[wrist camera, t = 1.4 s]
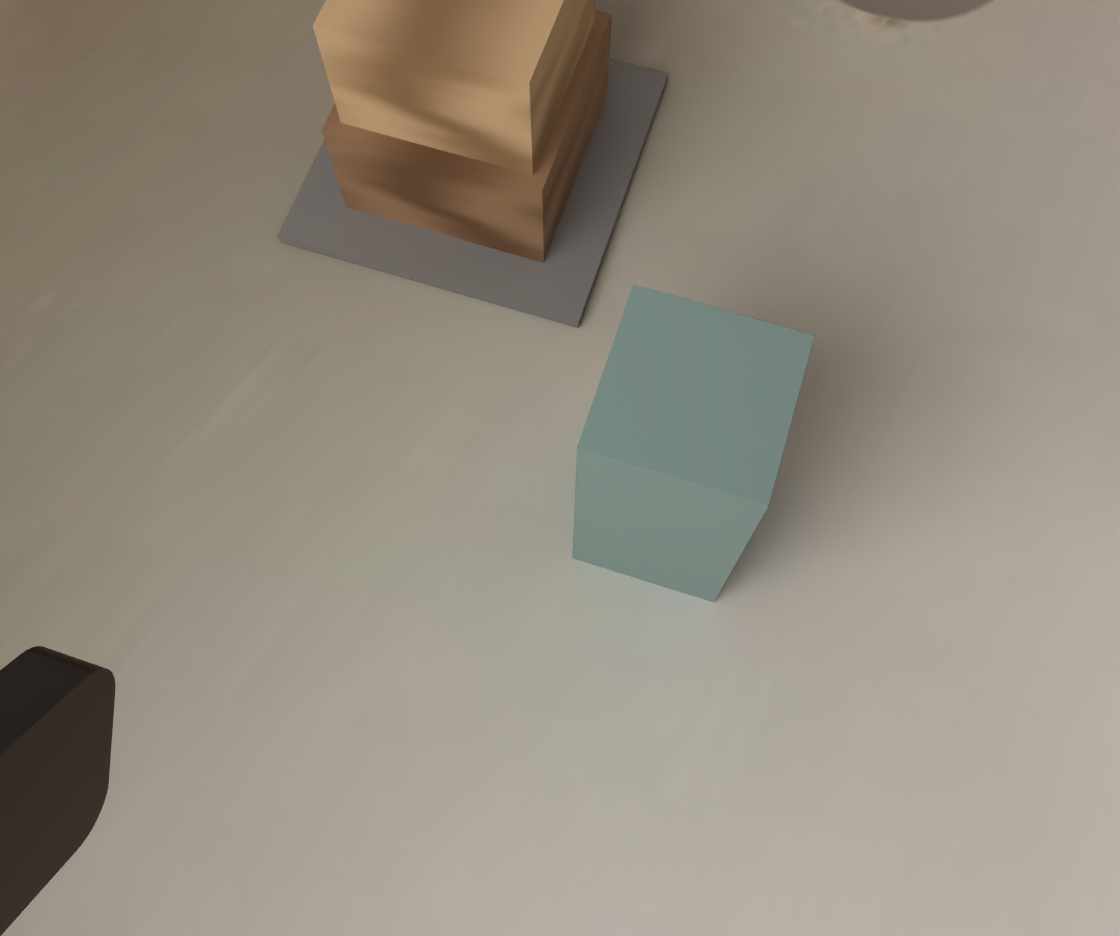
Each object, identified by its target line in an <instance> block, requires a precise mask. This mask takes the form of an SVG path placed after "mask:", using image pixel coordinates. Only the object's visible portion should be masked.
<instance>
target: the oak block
mask: <svg viewBox="0 0 1120 936" xmlns="http://www.w3.org/2000/svg"><path fill="white" fill-rule="evenodd" d="M594 20H595V0H326V1H325V3H324V5H323V7H322V9H321V11H320V13H319V15H318V17H317V18H316V20H315V22H314V24H313V28H314V32H315V35H316V38H317V42H318V45H319V49H320V52H321V56H322V59H323V63H324V66H325V70H326V73H327V77H328V80H329V83H330V87H331V90H332V94H333V97H334V101H335V104H336V108H337V111H338V115H339V118H340V122H341V123H343V124H347V125H351V126H354V127H358V128H362V129H365V130H369V131H373V132H376V133H380V134H384V135H387V136H391V137H395V138H398V139H402V140H406V141H409V142H413V143H416V144H420V145H424V146H427V147H431V148H435V149H438V150H442V151H446V152H449V153H453V154H457V155H460V156H464V157H468V158H471V159H475V160H479V161H482V162H486V163H490V164H493V165H497V166H501V167H504V168H508V169H512V170H515V171H519V172H523V173H526V174H530V175H533V173H534V171H535V168H536V166H537V163H538V161H539V158H540V156H541V154H542V151H543V149H544V146H545V144H546V141H547V139H548V136H549V134H550V131H551V129H552V126H553V124H554V121H555V119H556V116H557V114H558V111H559V109H560V106H561V104H562V101H563V99H564V96H565V94H566V91H567V89H568V86H569V84H570V81H571V79H572V76H573V74H574V71H575V69H576V66H577V64H578V61H579V59H580V56H581V54H582V51H583V49H584V46H585V44H586V41H587V39H588V36H589V34H590V31H591V29H592V26H593V24H594Z"/></svg>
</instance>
